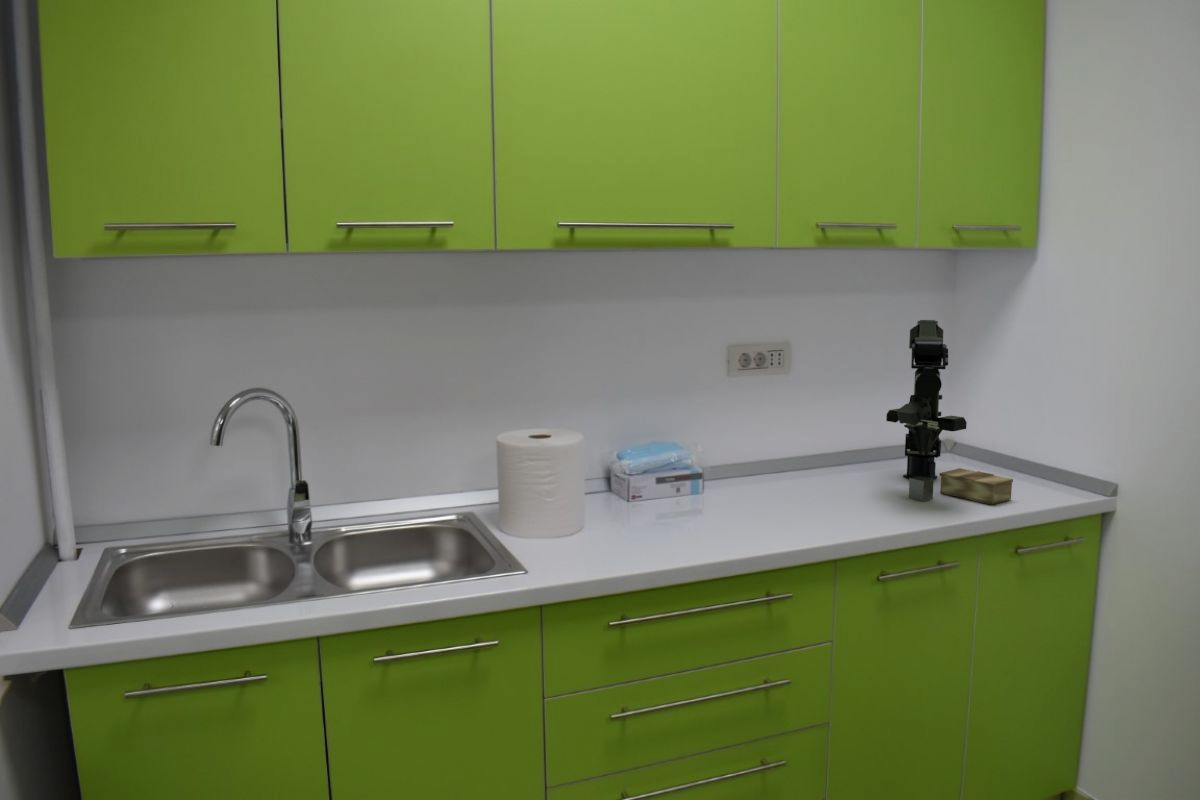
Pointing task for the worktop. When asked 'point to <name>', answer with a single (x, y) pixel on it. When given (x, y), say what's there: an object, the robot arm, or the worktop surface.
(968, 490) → the box
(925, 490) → the block
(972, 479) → the lid
